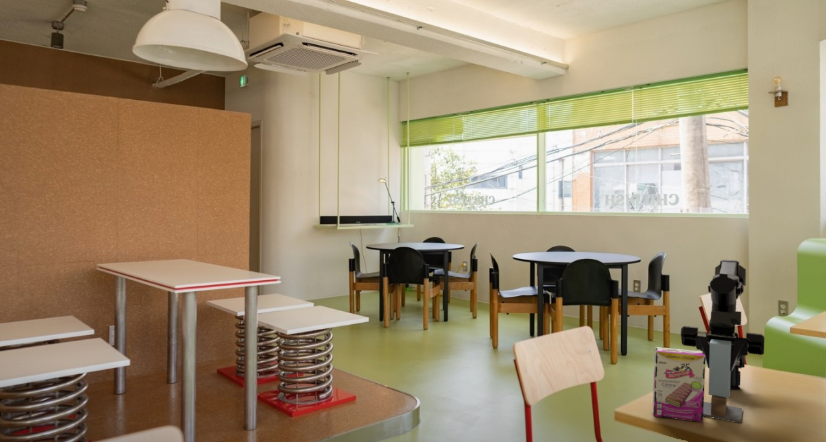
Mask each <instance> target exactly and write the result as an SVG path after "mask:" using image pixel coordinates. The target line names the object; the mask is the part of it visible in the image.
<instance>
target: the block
mask: <svg viewBox="0 0 826 442" xmlns="http://www.w3.org/2000/svg"><path fill="white" fill-rule="evenodd" d="M709 343H710V359H709V368H708V374H709V375H708V395H709V396H712V395H714V396H720V397H727V399H729V398H730V396H731V395H730V394H731V389H730V373H731V371H730V361H731V341H723V340H714V339H711V341H710V342H709Z"/></svg>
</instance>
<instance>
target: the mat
mask: <svg viewBox="0 0 826 442" xmlns="http://www.w3.org/2000/svg"><path fill="white" fill-rule="evenodd" d="M704 416H707V417H706V418H709V417H714V418H713V419H715V418H719V419H718V420H720V419H724V420H723V421H726V420H729V421H728V422H732V421H734V423H737V422H739V423H740V424H742V420H741V419H742V417H743V407H739V406H733V405H727V406H726V412H725V417H721V416H715V415H711V402H710V401H709V402H708V401H704V411H703V417H704ZM739 423H738V424H739Z"/></svg>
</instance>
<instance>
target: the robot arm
mask: <svg viewBox="0 0 826 442" xmlns="http://www.w3.org/2000/svg"><path fill="white" fill-rule="evenodd" d="M746 283H747V270H746V268H744V267H743V266H742V265H741V264H740V261H738V260H736V259H734V260H733V259H722V260H721V259H720V262H719V264H718V265H717V266H716V267H714V275H713V276H712V279H710V280H709V283H708V286H707V290H708V293H709V294H710V300H711V311H710V318H709V322H708V331H709V333H708V331H707V332H706V331H704V330H703V331H702V330H701V331H700V330H699V326H698V327H697V326H690V325H683V326H682V327H681V329H680V339H681V345H682V346H684V347H685V346H686V347H693V348H695V349H696V350H697V351H703V353H704V355H705V357H706V359H705V364H706V366H707V368H708V369H709V359H710V341H711V339H714V340H723V341H731V361H730V371H731V373H730V390H741V389H742V388H741V387H740V386H741V371H740V370H739V369H742V368H746V366H745V364H746V363H745V361H746V359H745V358H746V357H747V356H748V354H751V355H757V356H759V355H760V356H764V354H765V336H764V335H763V334H762V333H755V332H746V333H745V337H739V334H738V333H737V332H736V326H742V311H738V310H737V300H738V299H739V296H742V294H743V293H744V292H745V291H744V290H745V287H746V286H747V284H746Z"/></svg>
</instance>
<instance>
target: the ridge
mask: <svg viewBox="0 0 826 442" xmlns="http://www.w3.org/2000/svg"><path fill="white" fill-rule="evenodd" d="M710 399H711V400H710V403H711V415H715V416H721V417H725V412H726V406H728V404H727V401H728V400H727V399H728V398H727V397H720V396H714V395H711V398H710Z"/></svg>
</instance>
